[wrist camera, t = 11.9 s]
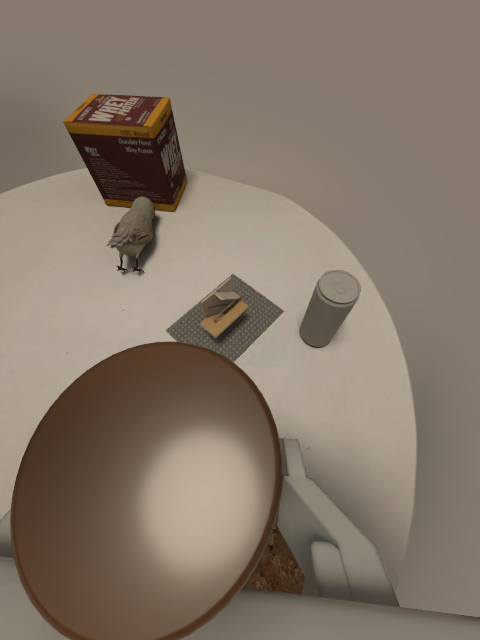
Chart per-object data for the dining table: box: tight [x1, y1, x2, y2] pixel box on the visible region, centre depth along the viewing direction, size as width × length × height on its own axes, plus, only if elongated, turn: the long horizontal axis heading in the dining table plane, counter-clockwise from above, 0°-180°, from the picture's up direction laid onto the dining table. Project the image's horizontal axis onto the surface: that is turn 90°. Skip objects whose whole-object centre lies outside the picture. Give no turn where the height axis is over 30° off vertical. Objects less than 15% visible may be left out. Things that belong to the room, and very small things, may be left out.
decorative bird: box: [106, 196, 155, 273], centre depth 46 cm, size 5×16×8 cm, turn 175°
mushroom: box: [244, 524, 305, 595], centre depth 25 cm, size 8×8×6 cm
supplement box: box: [63, 94, 187, 211], centre depth 50 cm, size 10×15×16 cm
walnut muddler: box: [10, 342, 282, 640], centre depth 10 cm, size 4×4×16 cm
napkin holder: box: [199, 277, 250, 339], centre depth 37 cm, size 3×7×7 cm, turn 137°
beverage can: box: [300, 270, 361, 347], centre depth 34 cm, size 5×5×12 cm
